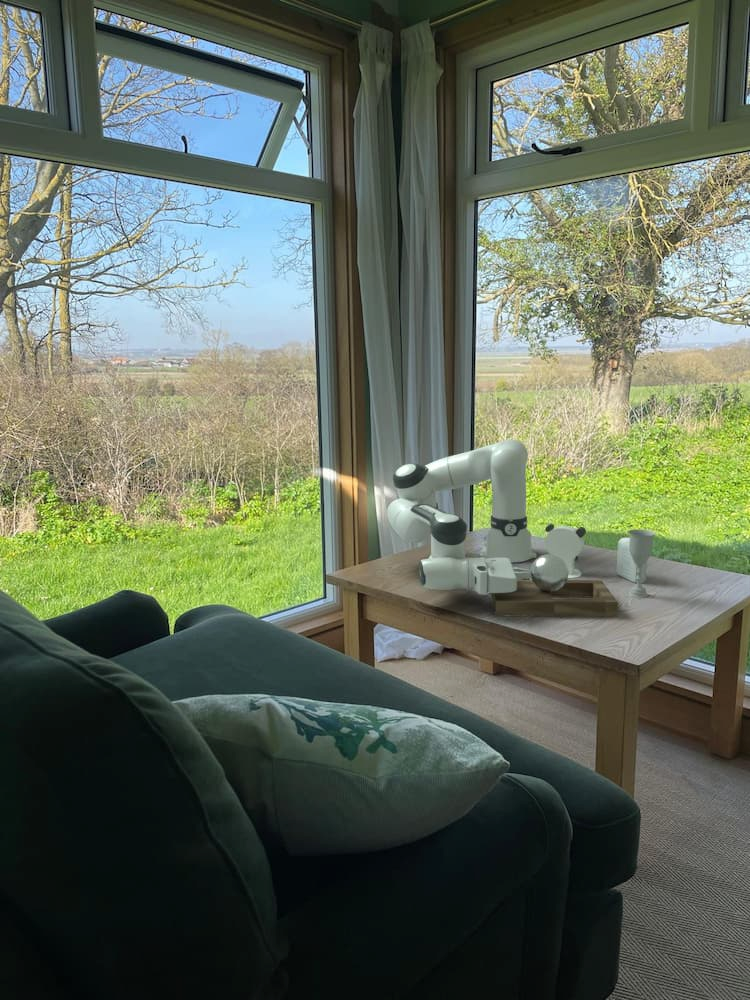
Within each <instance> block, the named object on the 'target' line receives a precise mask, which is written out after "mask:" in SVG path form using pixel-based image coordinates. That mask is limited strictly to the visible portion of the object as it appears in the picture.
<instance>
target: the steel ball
mask: <svg viewBox="0 0 750 1000" xmlns="http://www.w3.org/2000/svg"><path fill="white" fill-rule="evenodd" d="M529 570H530V572H531V578H530V580H532V581H533V583H534V584H535V585H536V586H537V587H538V588H539V589H541V590H544V591H556V590H558V589H560V588H561V587H563V586H564V584H565V583H566V581H567V580H569V579H568V568H567V565H566V563H565V562H564V561H563V560H562V559H561V558H560V557H558V556H556V555H552V554H550V553H547V554H542V555H540V556H537V557H536V558H535V560H533V562H532V564H531V566H530V569H529Z"/></svg>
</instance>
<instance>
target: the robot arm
mask: <svg viewBox="0 0 750 1000" xmlns="http://www.w3.org/2000/svg"><path fill="white" fill-rule="evenodd" d="M528 458H529V455H528V449H527V447H526V445H524V443H522V442H521V441H520V440H517V439H506V440H503V441H499V442H495V443H492V444H489V445H486V446H483V447H478V448H476V449H472V450H469V451H465V452H462V453H458V454H454V455H449V456H446V457H443V458H440V459H437V460H434V461H432V462H430V463H428V464H426V465H422V464H420V463H414V462H413V463H409V462H408V463H405V464H402V465H400V466H399V467H398V468H396V470H395V471H394V473H393V475H392V480H393V486H394V487H395V489H396V492H397V495H398V498H397V499H394V500H393V501H392V502H390V504H389V505H388V506H387V509H386V516H387V519H388V522H389V524H390V526H391V527H392V528H393V530H394V531H395V532H396V534H397V535H398V536H399V537H400V538H402V540H404V541H405V542H407V543H410V544H418V543H422V542H423V541H426V540H427V539H428V538H429V537H430V544H431V545H430V550H431V552H430V555H429V556H428V558H425V559H424V558H423V560H422V559H420V561H419V562H418V575H419V576H418V578H419V582H420V584H421V586H422V587H423V588H426V589H432V590H441V591H442V590H443V591H453V590H457V589H461V590H465V591H474V592H476V593H477V594H478V595H480V596H482V595H483V596H486V595H488V593H489V594H490V593H509V592H514V591H516V590H517V580H522V579H530V580H531V572H530V570H531V569H529V568H520V567H514V566H513V565H512V563H521V562H526V561H528V560H531V559H537V558H538V555H537V553H536V552H535V551H533V550H532V549H533V548H532V547H533V545H532V542H533V540H532V533H531V531H529V530H528V528H527V527H528V516H527V482H526V481H527V473H526V470H527V469H526V468H527V462H528ZM488 480H491V481H490V482H491V495H492V496H491V497H492V499H491V501H492V503H491V515H490V519H489V521H490V528H489V530H488V531H487V533H486V534H484V535H483V541H484V542H486V543H484V545H483V547H482V550H481V552H480V553H479V554H480V555H479V556H478V557H475V556H474V557H472V556H471V557H466V545H467V544H466V541H467V539H466V537H467V530H468V526H467V525H468V524H467V523H466V522H465V520H463V518H462V517H461V516H459V515H456V514H453V513H448V512H447V511H443V509H439V505H438V503H437V500H436V495H435V494H434V493H436V492H444V491H450V490H451V491H453V490H455V489H456V490H457V489H460V488H464V487H465V488H466V487H467V486H472V485H477V484H481V483H483V482H486V481H488Z"/></svg>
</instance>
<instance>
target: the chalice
mask: <svg viewBox="0 0 750 1000" xmlns="http://www.w3.org/2000/svg"><path fill="white" fill-rule="evenodd" d="M627 533H628V536H629V538H630V543H629V550H630V553H631V556H632V559H633V561H634V563H635V564H637V565H638V570H637V571H636V572H637V574H638V575H637V577H636V579H637V583H635V585H633V586H632V587H631V589H630V590H629V593H628V595H629V596H630V597H632V596H633V597H632V598H636V597H639V599H643V598H644V599H645V598H648V596H649V595H648V593H647V590H646V587H645V586H643V585H642V583H640V582H641V580H642V577H641V573H642V570H641V567H642V565H645V564H646V562H647V563H648V560H649V559H650V556H651V555H652V552H653V544H654V543H653V542H654V537H655V535H656V532H654V531H652V530H647V529H629V530H628V531H627Z"/></svg>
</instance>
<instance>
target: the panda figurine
mask: <svg viewBox="0 0 750 1000" xmlns="http://www.w3.org/2000/svg"><path fill="white" fill-rule="evenodd" d="M545 532H546V533H547V535H546V537H545V542H544V544H545V545H544V546H545V548H546V550H547V552H548V554H552V555H556V556H558V557H560V558H561V559H562V560H563V561H564V562H565V563H566V565H567V568H568V579H567V580H574V579H577V577H578V578H580V577H581V576H582V571H580V570H579V569H576V568H575V563H576V562H577V560H578V559H579V556H578V555H579V554H580V553H581V552H582V550H583V549H584V547H585V540H584V537H585V535H586V533H587V530H586V528H585V527H584V526H580V527H578V528H575V527H573V526H569V525H557V526H555V525H554V523H549V524H548V525H547V526H546V527H545ZM573 578H574V579H573Z"/></svg>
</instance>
